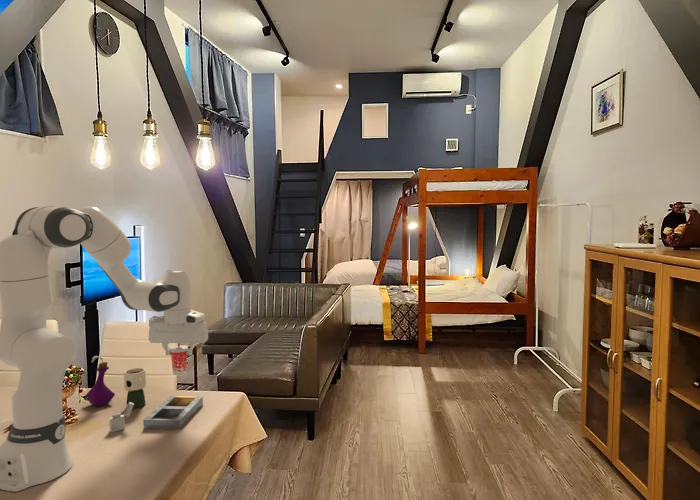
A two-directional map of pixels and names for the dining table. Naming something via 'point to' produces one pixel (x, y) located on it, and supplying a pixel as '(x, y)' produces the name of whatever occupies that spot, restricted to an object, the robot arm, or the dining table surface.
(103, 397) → the perfume bottle
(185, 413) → the gray divided tray
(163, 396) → the dining table surface
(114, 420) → the lighter
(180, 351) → the beverage cup
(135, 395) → the character mug
